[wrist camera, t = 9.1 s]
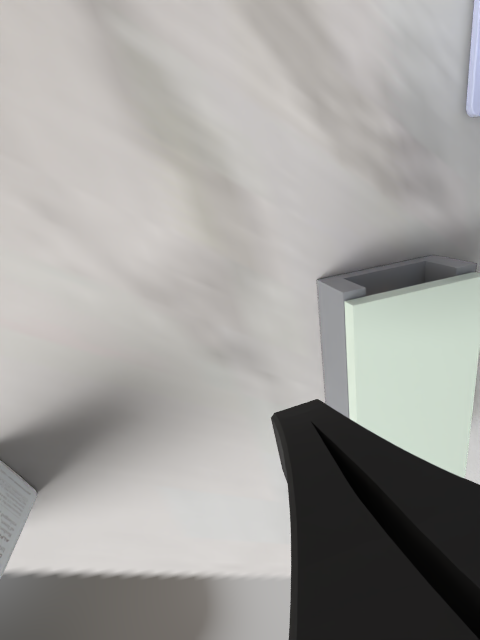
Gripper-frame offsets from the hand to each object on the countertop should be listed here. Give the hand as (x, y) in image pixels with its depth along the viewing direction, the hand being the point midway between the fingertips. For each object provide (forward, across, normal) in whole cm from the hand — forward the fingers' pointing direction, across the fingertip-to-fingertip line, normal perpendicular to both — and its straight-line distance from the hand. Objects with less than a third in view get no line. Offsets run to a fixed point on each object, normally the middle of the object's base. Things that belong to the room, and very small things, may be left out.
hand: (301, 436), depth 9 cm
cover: (+7, -8, +7) cm, 13 cm away
